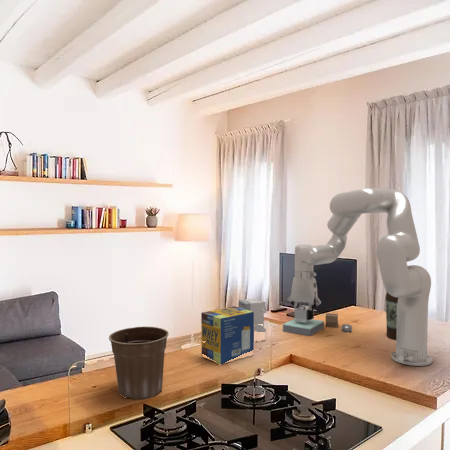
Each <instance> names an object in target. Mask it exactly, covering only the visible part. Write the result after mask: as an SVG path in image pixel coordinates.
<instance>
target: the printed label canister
mask: <svg viewBox="0 0 450 450" xmlns="http://www.w3.org/2000/svg"><path fill="white" fill-rule="evenodd" d="M397 303H398V298H397V297H393V296H391V295H390V294H389V293H388V292H387V291H386V295H385V315H386V317H385V319H386V321H385V322H386V337H387V338H389V339H391V338H392V339H391V340H395V339H396V340H395V341H397Z"/></svg>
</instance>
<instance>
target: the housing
mask: <svg viewBox="0 0 450 450" xmlns="http://www.w3.org/2000/svg"><path fill="white" fill-rule="evenodd" d="M308 310H309V306H308V305H302V304H301V305H299V307H298V308H294V319H295V321H299V322H305V323H306V322H308V321H310V320H308ZM314 317H315V309H314V310H313V319H314V320H315V318H314ZM311 320H312V319H311Z"/></svg>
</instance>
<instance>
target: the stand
mask: <svg viewBox="0 0 450 450" xmlns="http://www.w3.org/2000/svg"><path fill="white" fill-rule="evenodd" d="M324 328H325V321H324V320H320V319H315V318H314V319H312V320H310V321H308V322H306V323H305V322H299V321H295V318H293V319H290V320H288V321H287V322H285V323H282V332H284V333H290V334H297V335H303V336H306V337H307V336H308V337H312V336H313V335H314V334H316V333H319V332H320V331H322V330H323V329H324Z"/></svg>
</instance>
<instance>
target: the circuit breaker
mask: <svg viewBox="0 0 450 450" xmlns="http://www.w3.org/2000/svg"><path fill="white" fill-rule="evenodd" d="M238 308H242V309H245V310H249V311H252V312H254V324H255V325H257V326H255V327H254V330H256V331H257V332H266V333H267V329H266V328H265V314H266V313H267V306H266V301H264V300H262V299H259V298H246V299H238ZM258 324H263V326H261V325H258Z"/></svg>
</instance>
